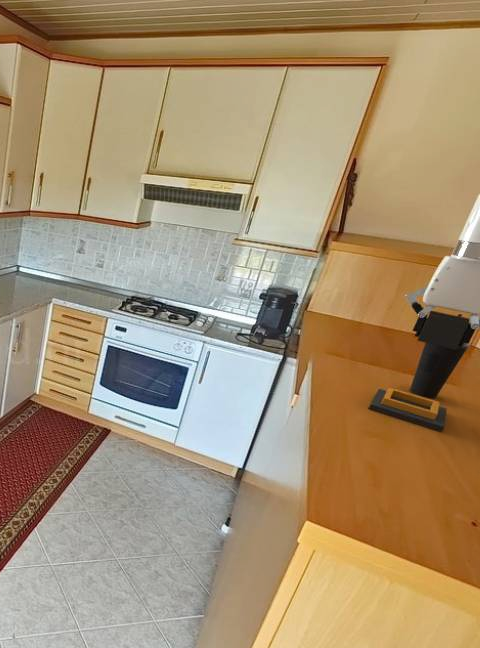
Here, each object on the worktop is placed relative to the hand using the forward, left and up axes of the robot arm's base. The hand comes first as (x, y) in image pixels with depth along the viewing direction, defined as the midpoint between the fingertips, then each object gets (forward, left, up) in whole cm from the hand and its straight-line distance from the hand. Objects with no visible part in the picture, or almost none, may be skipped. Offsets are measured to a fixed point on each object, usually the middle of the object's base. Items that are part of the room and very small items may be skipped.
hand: (438, 339), depth 100 cm
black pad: (0, 0, -1) cm, 1 cm away
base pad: (0, 0, -16) cm, 16 cm away
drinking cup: (+5, -17, -17) cm, 24 cm away
